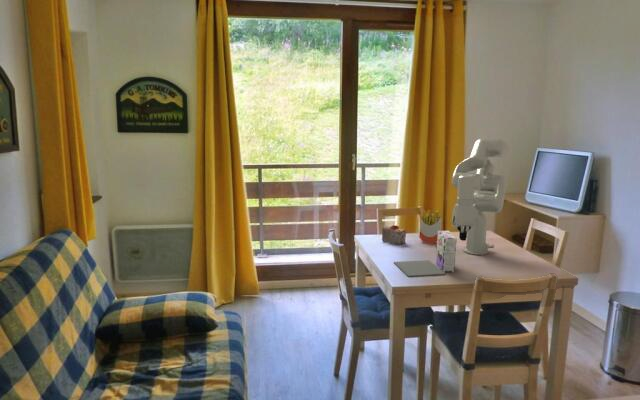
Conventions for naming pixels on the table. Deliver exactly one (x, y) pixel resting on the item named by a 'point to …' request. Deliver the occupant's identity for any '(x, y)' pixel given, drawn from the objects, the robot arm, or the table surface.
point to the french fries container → (430, 227)
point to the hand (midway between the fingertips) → (462, 239)
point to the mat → (419, 268)
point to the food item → (393, 234)
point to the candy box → (446, 251)
